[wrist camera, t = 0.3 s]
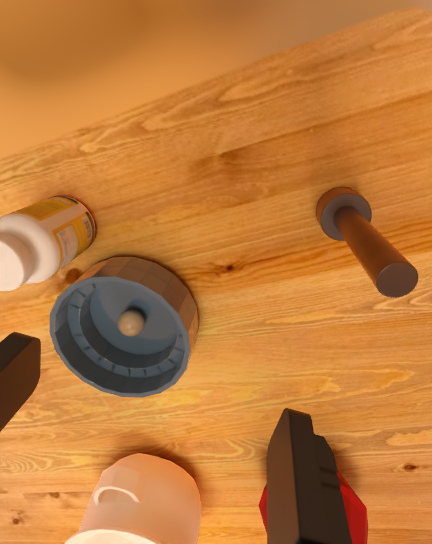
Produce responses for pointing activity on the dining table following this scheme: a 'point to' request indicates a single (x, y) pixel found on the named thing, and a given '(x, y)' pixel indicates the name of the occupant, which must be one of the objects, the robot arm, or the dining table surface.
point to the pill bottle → (42, 240)
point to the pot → (142, 505)
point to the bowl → (107, 337)
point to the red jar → (352, 506)
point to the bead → (130, 323)
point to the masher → (365, 241)
